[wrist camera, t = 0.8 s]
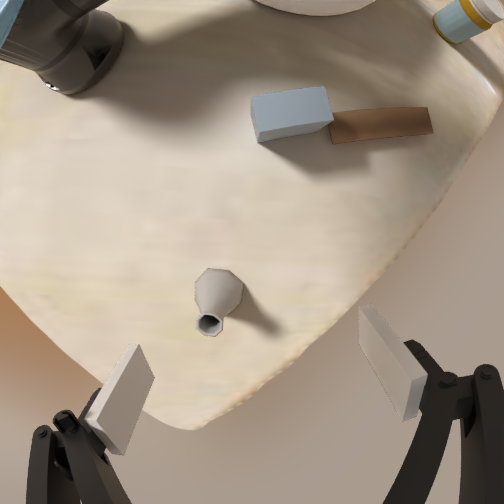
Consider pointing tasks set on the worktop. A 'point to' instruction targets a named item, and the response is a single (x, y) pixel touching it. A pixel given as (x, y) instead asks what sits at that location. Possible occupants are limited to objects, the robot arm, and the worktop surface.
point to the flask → (216, 299)
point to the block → (379, 124)
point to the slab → (290, 113)
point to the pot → (317, 6)
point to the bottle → (467, 19)
